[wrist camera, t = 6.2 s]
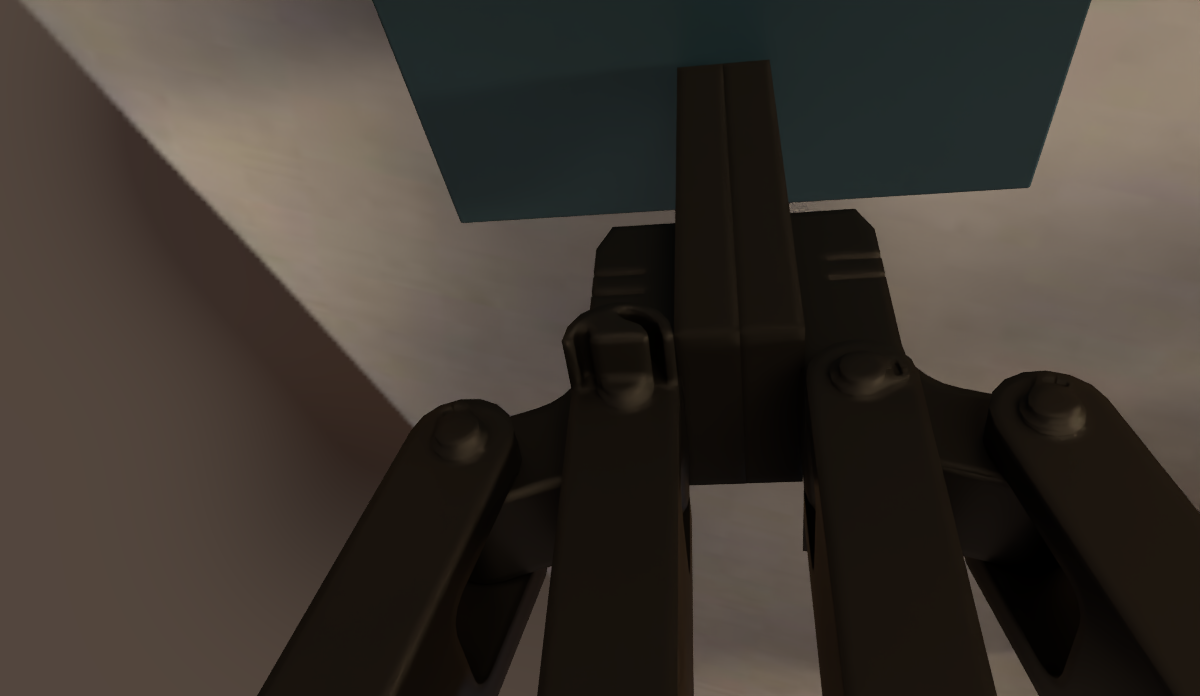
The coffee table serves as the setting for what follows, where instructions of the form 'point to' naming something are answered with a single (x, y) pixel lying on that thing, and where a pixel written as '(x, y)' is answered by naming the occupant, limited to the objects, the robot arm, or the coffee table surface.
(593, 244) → the coffee table surface
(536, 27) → the tissue box
